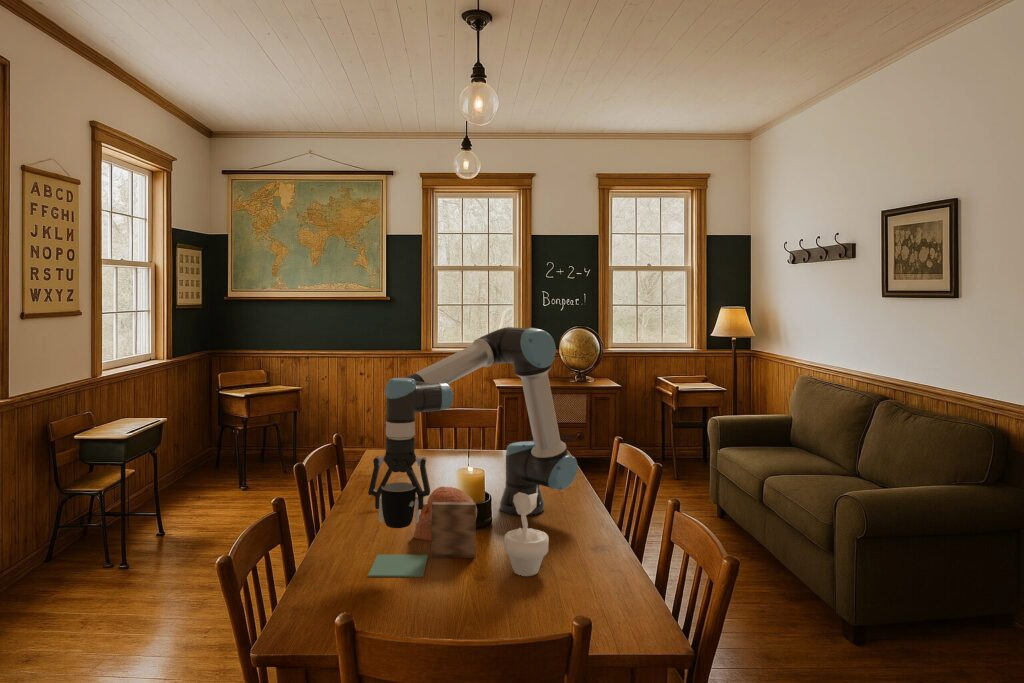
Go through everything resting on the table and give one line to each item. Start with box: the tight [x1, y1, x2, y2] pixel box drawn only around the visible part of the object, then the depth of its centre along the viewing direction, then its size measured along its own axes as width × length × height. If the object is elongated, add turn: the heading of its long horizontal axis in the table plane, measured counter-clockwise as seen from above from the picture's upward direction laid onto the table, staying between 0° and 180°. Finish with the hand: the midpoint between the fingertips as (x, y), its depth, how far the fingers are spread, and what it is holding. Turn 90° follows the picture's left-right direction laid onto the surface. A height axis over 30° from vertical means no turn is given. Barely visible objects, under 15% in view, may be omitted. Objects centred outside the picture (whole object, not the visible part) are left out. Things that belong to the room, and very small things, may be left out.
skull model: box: [413, 486, 478, 542], centre depth 201 cm, size 15×19×15 cm
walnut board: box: [430, 502, 477, 559], centre depth 187 cm, size 12×5×15 cm, turn 92°
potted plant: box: [503, 488, 550, 577], centre depth 175 cm, size 13×12×25 cm
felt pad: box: [367, 554, 429, 578], centre depth 178 cm, size 14×14×1 cm
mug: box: [381, 481, 417, 529], centre depth 177 cm, size 12×9×10 cm
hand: (399, 520), depth 177 cm, fingers closed on mug, 9 cm apart
